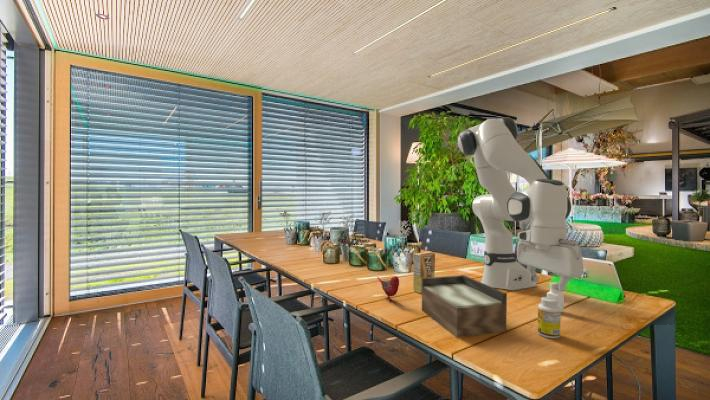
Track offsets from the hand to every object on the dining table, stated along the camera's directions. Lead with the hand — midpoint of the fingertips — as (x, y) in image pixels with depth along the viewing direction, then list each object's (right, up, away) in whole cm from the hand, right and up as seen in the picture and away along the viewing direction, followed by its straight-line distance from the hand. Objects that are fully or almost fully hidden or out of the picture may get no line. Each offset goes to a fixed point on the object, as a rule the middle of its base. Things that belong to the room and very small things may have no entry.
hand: (546, 286), depth 96 cm
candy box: (-26, -13, +43) cm, 52 cm away
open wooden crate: (-21, -14, +11) cm, 27 cm away
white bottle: (+14, -14, +19) cm, 27 cm away
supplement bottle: (+1, -14, 0) cm, 14 cm away
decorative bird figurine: (-41, -13, +33) cm, 54 cm away
